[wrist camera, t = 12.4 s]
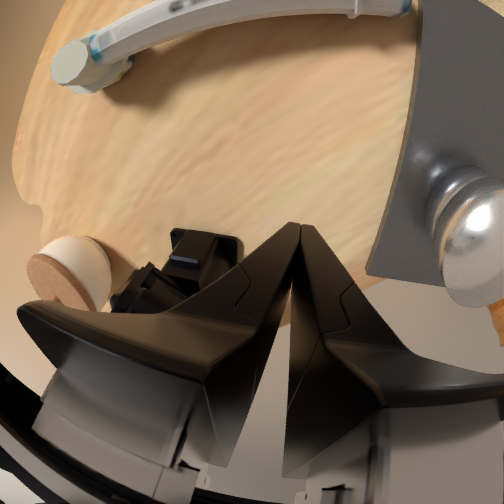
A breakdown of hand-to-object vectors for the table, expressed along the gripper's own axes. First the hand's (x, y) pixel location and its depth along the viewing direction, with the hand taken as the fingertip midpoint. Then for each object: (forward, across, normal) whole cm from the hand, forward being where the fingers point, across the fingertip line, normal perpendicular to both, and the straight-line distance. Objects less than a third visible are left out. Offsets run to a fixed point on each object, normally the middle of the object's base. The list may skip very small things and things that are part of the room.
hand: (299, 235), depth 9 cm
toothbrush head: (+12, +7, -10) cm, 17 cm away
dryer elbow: (+8, -18, +2) cm, 20 cm away
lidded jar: (+12, +24, +15) cm, 31 cm away
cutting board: (+12, -18, -3) cm, 22 cm away
